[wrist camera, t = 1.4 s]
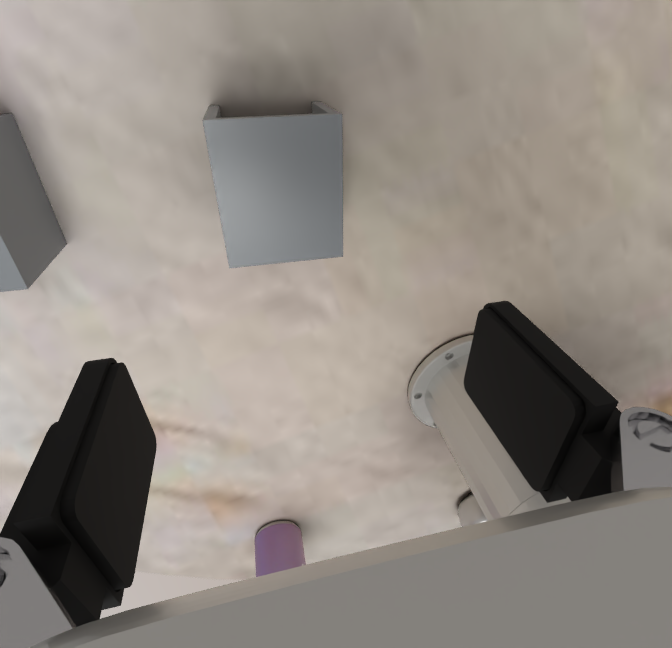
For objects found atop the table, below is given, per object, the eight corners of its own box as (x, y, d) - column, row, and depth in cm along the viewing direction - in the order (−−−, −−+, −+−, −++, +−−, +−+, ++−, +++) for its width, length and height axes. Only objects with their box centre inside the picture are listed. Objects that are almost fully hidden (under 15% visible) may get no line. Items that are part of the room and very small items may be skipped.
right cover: (320, 101, 26) (342, 113, 21) (324, 221, 31) (343, 256, 25) (209, 105, 25) (202, 120, 20) (230, 229, 30) (229, 268, 24)
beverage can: (249, 526, 50) (254, 677, 38) (296, 513, 51) (315, 658, 39) (260, 549, 54) (267, 694, 42) (303, 537, 54) (323, 677, 42)
